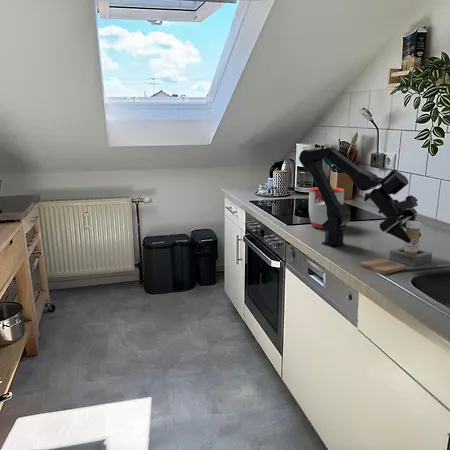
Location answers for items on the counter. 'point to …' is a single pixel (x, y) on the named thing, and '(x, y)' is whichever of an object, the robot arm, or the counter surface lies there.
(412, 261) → the square collar
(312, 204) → the citrus juicer
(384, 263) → the walnut coaster
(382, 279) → the counter surface
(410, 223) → the sprinkles bottle
